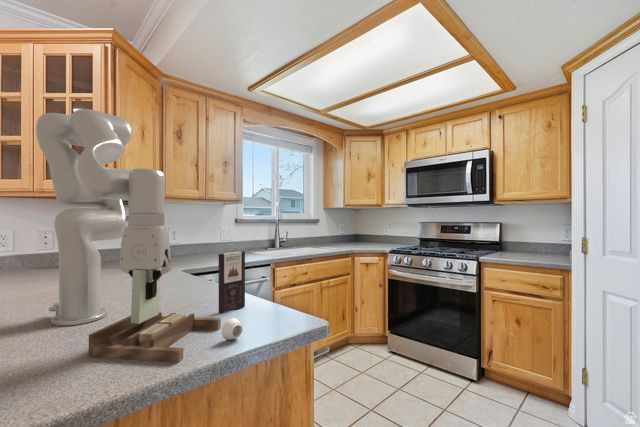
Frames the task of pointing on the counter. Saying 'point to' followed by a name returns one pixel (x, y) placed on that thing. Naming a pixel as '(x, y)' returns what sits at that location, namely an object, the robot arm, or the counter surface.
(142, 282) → the sage green slab
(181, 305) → the counter surface
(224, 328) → the white jar
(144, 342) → the offcut
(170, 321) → the offcut
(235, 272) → the chocolate bar
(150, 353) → the rack
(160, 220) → the robot arm
